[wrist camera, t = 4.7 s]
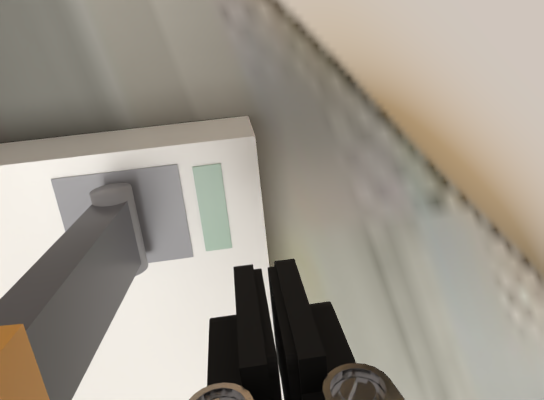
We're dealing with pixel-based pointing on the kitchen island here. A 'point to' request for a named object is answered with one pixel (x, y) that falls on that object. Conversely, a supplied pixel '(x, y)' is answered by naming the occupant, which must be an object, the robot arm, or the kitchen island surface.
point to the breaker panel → (147, 239)
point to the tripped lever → (70, 299)
